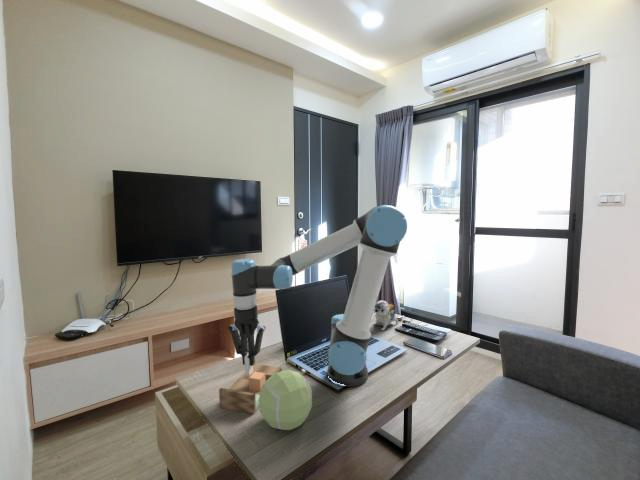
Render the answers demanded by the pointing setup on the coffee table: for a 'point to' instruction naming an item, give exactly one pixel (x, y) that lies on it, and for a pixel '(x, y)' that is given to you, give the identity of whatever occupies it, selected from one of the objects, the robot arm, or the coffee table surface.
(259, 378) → the cube
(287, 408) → the decorative sphere
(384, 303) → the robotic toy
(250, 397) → the wooden box
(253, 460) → the coffee table surface
